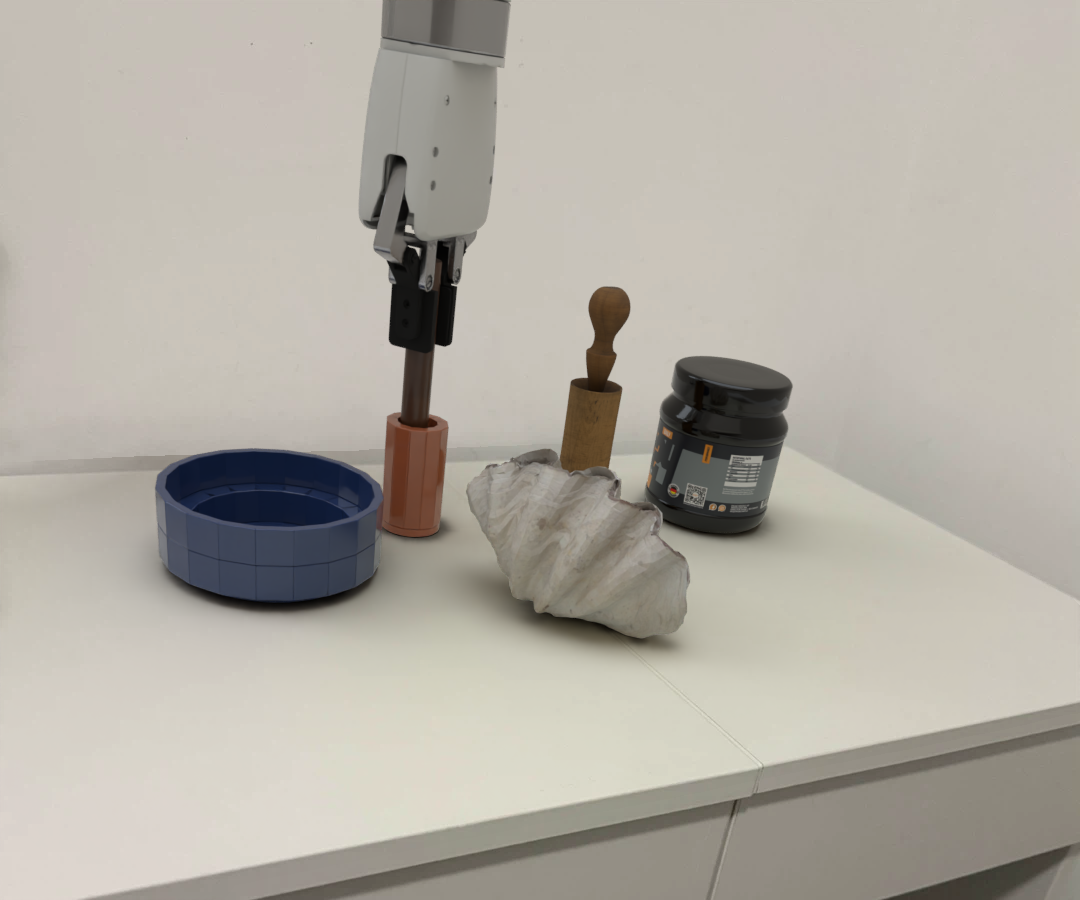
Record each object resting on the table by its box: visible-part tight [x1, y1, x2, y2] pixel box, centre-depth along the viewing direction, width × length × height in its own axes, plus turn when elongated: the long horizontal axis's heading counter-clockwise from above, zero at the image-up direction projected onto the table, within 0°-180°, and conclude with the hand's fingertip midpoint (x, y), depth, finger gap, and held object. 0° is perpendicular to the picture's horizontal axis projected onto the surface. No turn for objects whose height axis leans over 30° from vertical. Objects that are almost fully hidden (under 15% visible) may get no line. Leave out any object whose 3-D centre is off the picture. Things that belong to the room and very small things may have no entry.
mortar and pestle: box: [559, 285, 631, 473], centre depth 80 cm, size 7×6×18 cm
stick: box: [400, 255, 442, 428], centre depth 75 cm, size 2×2×18 cm
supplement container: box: [644, 355, 794, 535], centre depth 88 cm, size 10×10×12 cm
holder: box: [382, 411, 450, 538], centre depth 78 cm, size 4×4×8 cm
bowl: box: [154, 447, 384, 604], centre depth 70 cm, size 14×14×6 cm
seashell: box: [465, 448, 691, 639], centre depth 69 cm, size 10×15×10 cm
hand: (420, 343), depth 73 cm, fingers closed on stick, 2 cm apart
